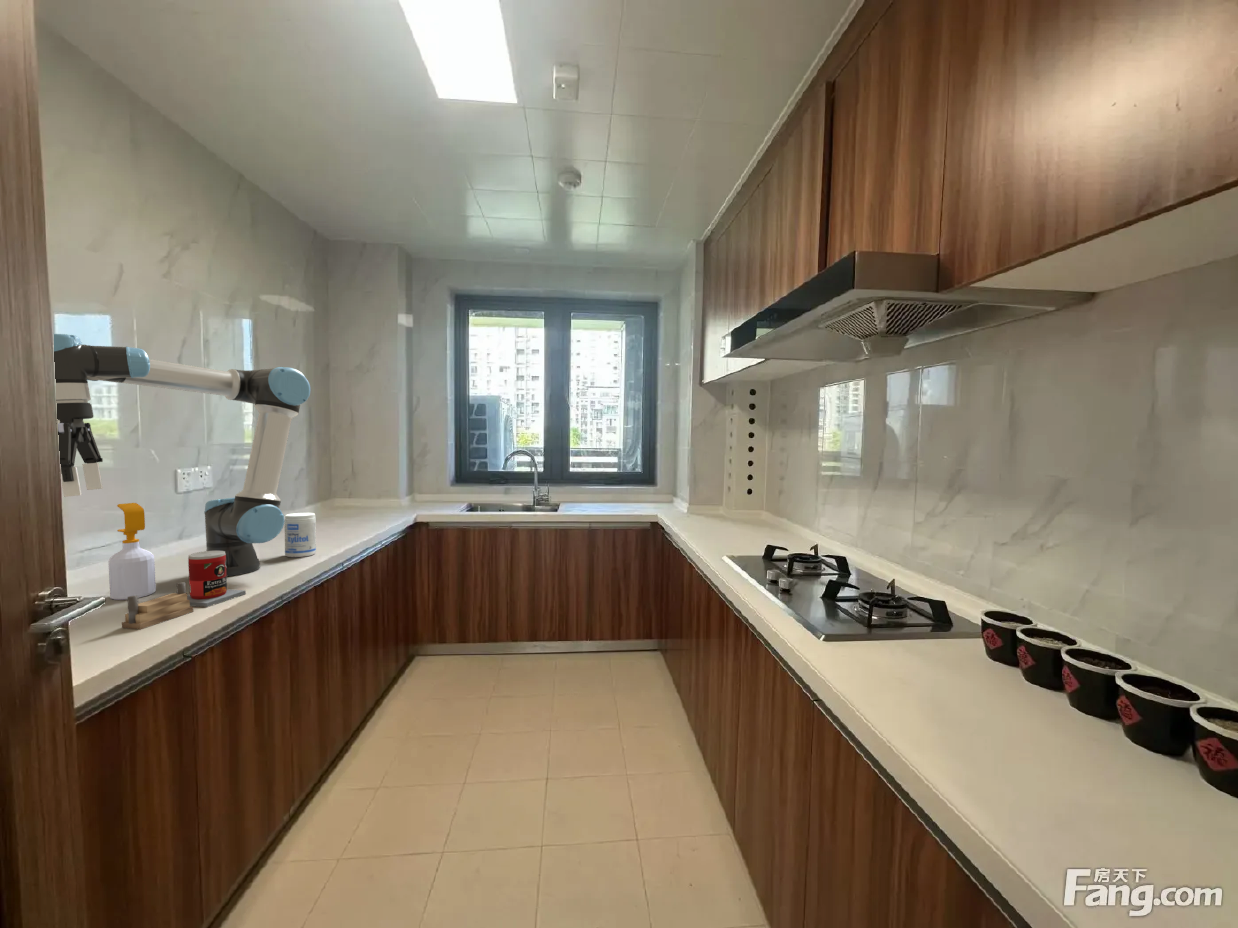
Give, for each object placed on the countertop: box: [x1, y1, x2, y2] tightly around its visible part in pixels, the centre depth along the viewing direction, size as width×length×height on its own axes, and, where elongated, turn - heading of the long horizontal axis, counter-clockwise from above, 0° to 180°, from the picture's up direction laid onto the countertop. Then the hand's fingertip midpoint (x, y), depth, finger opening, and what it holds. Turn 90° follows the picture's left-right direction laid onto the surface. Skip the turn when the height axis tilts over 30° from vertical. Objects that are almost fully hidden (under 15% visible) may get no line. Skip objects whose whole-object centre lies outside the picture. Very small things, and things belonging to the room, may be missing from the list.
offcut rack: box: [121, 581, 194, 630], centre depth 123 cm, size 12×5×7 cm, turn 169°
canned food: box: [187, 550, 228, 599], centre depth 138 cm, size 8×8×11 cm
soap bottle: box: [107, 502, 157, 601], centre depth 141 cm, size 9×9×25 cm
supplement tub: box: [284, 512, 317, 558], centre depth 189 cm, size 10×10×15 cm
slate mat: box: [187, 588, 247, 608], centre depth 138 cm, size 11×11×1 cm
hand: (84, 492), depth 126 cm, fingers open, 13 cm apart
